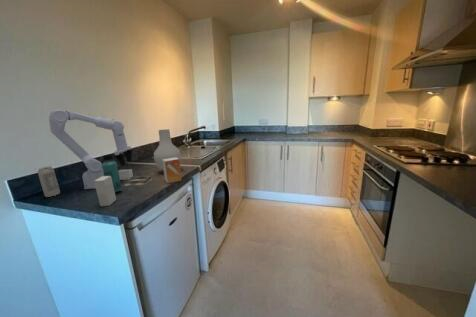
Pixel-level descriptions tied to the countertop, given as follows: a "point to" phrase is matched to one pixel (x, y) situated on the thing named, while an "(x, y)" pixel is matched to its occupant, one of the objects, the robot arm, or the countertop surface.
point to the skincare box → (105, 190)
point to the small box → (172, 170)
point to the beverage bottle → (112, 171)
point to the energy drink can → (48, 181)
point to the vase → (165, 148)
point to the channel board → (138, 181)
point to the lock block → (125, 174)
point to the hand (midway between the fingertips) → (126, 163)
